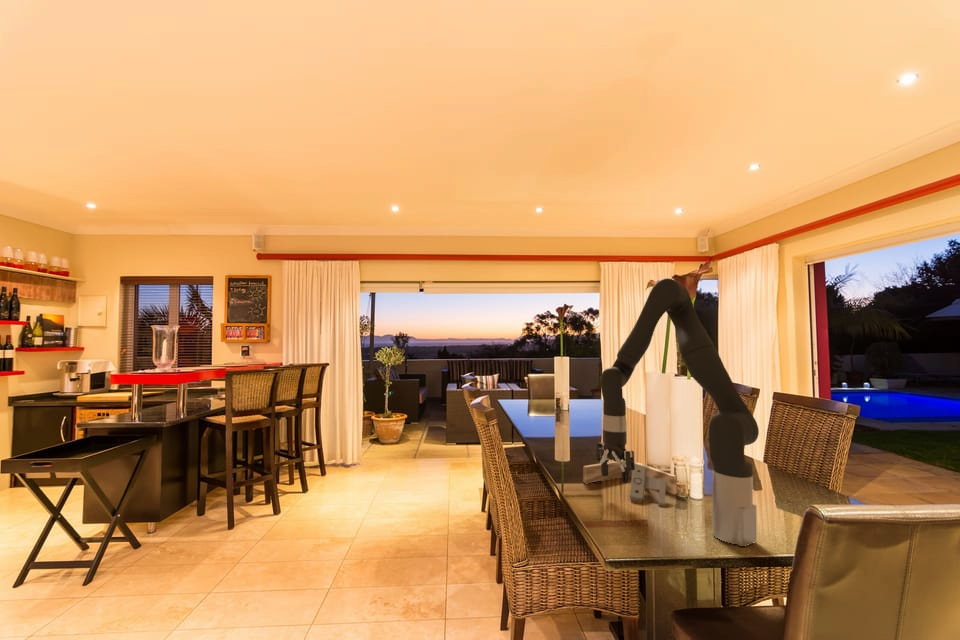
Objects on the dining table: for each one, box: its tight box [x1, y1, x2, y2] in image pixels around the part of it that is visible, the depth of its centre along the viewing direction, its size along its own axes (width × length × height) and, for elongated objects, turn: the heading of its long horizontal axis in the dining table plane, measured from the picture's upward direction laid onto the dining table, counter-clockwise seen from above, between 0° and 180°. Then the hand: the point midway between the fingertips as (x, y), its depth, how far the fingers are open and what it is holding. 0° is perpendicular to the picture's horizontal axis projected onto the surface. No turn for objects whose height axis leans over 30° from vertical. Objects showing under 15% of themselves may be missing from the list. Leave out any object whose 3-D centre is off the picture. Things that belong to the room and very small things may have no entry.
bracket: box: [629, 465, 666, 508], centre depth 145 cm, size 10×14×10 cm
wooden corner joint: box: [582, 459, 677, 495], centre depth 152 cm, size 24×22×6 cm
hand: (614, 479), depth 141 cm, fingers open, 8 cm apart
